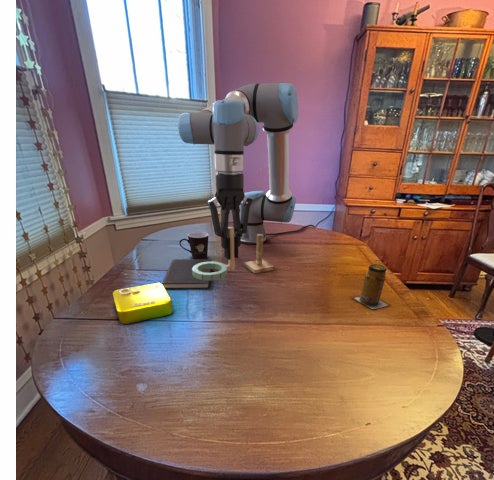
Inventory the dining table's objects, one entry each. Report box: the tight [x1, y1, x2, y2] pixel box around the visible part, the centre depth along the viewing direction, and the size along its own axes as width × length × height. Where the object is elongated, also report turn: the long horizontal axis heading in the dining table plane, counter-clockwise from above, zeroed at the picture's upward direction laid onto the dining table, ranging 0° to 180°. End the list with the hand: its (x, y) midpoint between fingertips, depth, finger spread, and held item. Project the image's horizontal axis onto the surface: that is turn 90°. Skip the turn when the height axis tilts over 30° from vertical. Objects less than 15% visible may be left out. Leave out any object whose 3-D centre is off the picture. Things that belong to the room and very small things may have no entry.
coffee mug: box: [178, 231, 210, 259], centre depth 127 cm, size 12×9×10 cm
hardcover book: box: [161, 258, 213, 290], centre depth 112 cm, size 16×23×2 cm
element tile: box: [112, 282, 174, 325], centre depth 89 cm, size 15×15×5 cm
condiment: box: [353, 263, 389, 310], centre depth 95 cm, size 7×8×12 cm
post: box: [243, 234, 275, 274], centre depth 118 cm, size 9×9×14 cm
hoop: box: [192, 226, 236, 282], centre depth 88 cm, size 13×10×13 cm
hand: (231, 257), depth 91 cm, fingers closed on hoop, 2 cm apart
